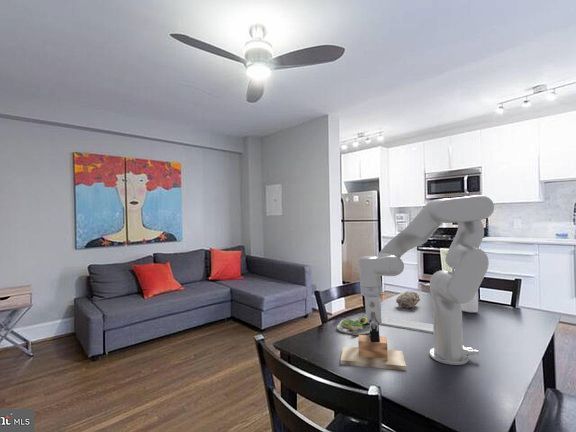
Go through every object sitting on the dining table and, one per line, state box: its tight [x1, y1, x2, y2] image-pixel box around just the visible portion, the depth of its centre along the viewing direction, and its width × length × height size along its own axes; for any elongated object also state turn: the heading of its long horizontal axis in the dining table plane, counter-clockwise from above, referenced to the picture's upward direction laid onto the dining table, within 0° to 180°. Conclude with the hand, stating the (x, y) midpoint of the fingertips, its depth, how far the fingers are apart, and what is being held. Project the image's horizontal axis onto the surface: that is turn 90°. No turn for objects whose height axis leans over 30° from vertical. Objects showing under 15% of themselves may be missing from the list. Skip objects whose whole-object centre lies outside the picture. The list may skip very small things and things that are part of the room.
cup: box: [461, 289, 479, 313], centre depth 163 cm, size 8×8×14 cm
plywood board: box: [340, 345, 407, 371], centre depth 113 cm, size 22×12×2 cm, turn 75°
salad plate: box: [336, 315, 370, 336], centre depth 143 cm, size 19×18×5 cm
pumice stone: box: [395, 291, 421, 309], centre depth 176 cm, size 14×12×8 cm
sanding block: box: [357, 334, 388, 360], centre depth 113 cm, size 10×6×6 cm, turn 75°
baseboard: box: [378, 316, 434, 334], centre depth 149 cm, size 31×3×12 cm
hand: (375, 336), depth 113 cm, fingers open, 9 cm apart
